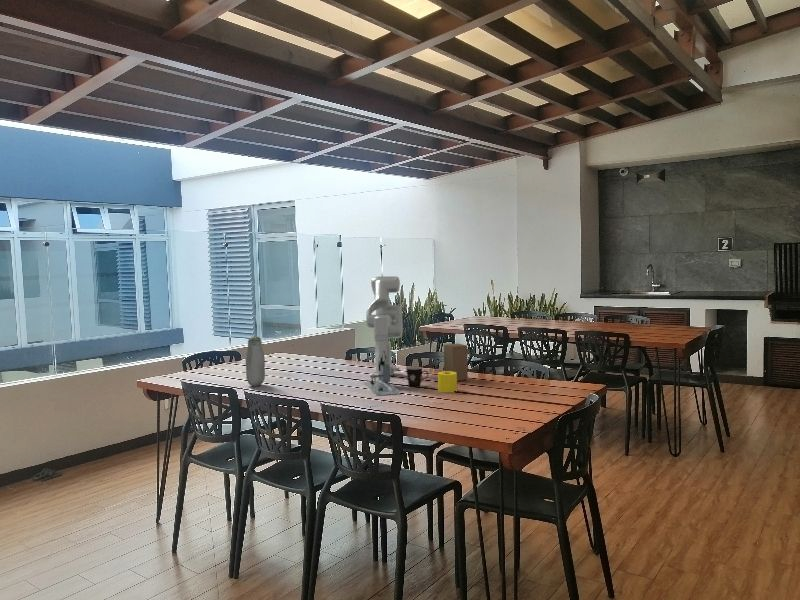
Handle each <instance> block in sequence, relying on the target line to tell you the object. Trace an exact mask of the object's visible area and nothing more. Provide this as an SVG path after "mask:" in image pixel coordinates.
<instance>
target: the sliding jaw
mask: <svg viewBox="0 0 800 600" xmlns="http://www.w3.org/2000/svg"><path fill="white" fill-rule="evenodd" d="M378 377H381V381H382V382H388V383H391V376H390V365H388V364H381V375H374V374H373V381H374V383H376V381H377V380H376V379H377V378H378Z"/></svg>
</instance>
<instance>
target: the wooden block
mask: <svg viewBox="0 0 800 600" xmlns="http://www.w3.org/2000/svg"><path fill="white" fill-rule="evenodd" d="M443 367H444V368H443V371H451V372H456V373H457V380H463V381H465V380H464V379H467V380H468V378H469V376H468V345H467V344H462V343H449V344H444V345H443Z"/></svg>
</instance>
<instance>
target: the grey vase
mask: <svg viewBox="0 0 800 600" xmlns="http://www.w3.org/2000/svg"><path fill="white" fill-rule="evenodd" d="M262 343H263V342H262V339H261V337H260V336H257V335H254V336H253V335H252V336H250V337H249V339H247V349H246V354H245V372H246V373H245V374H246V376H245V377H246V381H247V383H248V384H249V386H252V387H258V386H261V385H262V384H263V383H264V381H265V378H266V371H265V370H266V368H265V367H266V366H265V365H266V364H265V363H266V361H265V358H266V357H265V354H264V350H263V344H262Z"/></svg>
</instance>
